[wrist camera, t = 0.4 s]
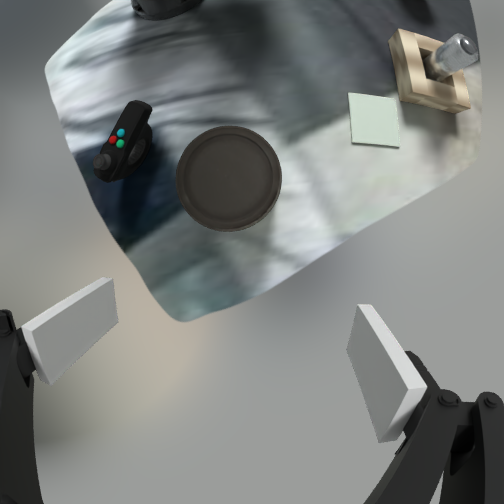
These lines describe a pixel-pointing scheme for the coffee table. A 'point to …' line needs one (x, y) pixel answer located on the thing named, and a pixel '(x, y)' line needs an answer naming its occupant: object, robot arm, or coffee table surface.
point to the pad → (373, 120)
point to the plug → (450, 58)
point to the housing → (413, 75)
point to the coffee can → (228, 178)
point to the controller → (125, 144)
